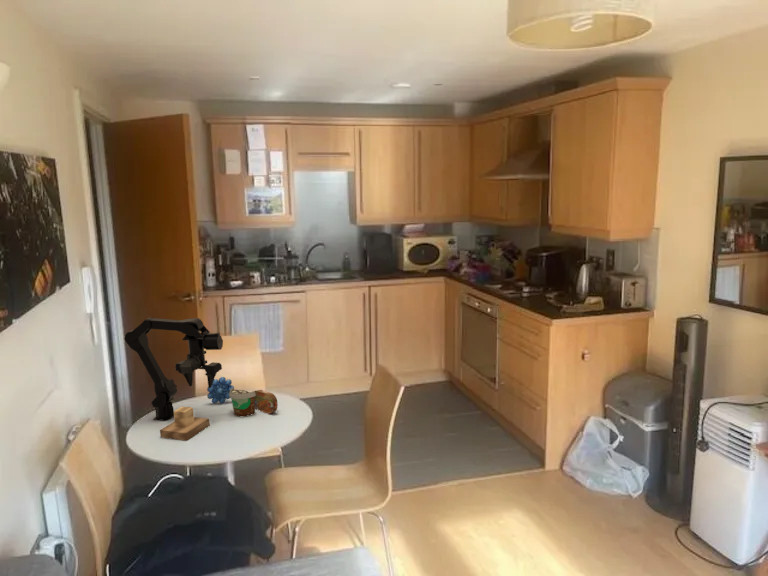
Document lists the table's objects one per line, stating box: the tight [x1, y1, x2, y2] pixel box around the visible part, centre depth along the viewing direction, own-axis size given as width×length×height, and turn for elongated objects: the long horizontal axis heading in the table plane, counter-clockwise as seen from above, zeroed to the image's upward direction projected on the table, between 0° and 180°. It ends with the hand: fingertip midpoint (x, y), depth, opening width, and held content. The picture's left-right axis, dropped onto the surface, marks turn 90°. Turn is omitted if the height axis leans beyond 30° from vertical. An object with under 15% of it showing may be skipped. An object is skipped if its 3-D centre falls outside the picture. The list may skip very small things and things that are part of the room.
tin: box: [254, 389, 278, 415], centre depth 241 cm, size 15×3×8 cm, turn 48°
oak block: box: [173, 406, 195, 427], centre depth 223 cm, size 5×5×6 cm
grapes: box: [206, 376, 235, 405], centre depth 252 cm, size 12×7×12 cm, turn 97°
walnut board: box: [159, 416, 211, 442], centre depth 223 cm, size 12×14×3 cm
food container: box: [229, 387, 256, 417], centre depth 238 cm, size 12×6×10 cm, turn 62°
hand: (200, 387), depth 235 cm, fingers open, 9 cm apart
